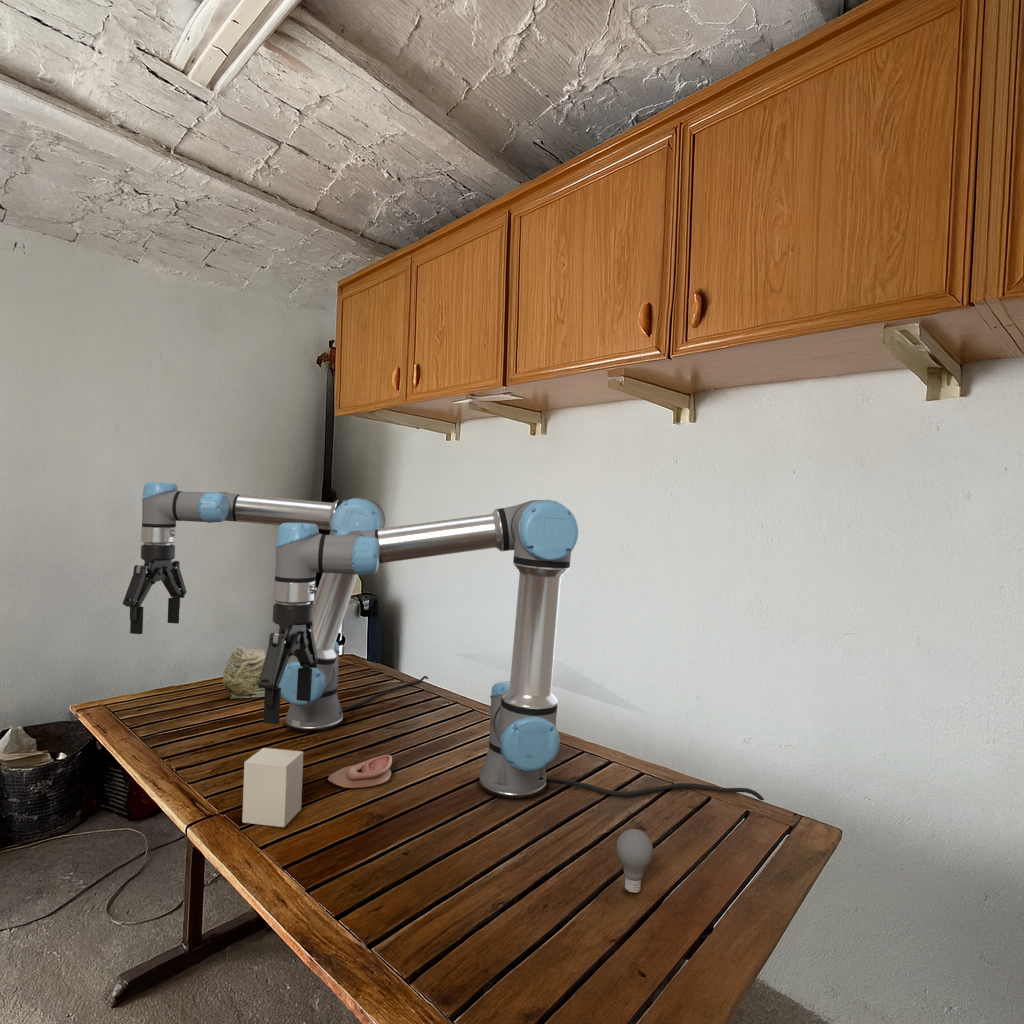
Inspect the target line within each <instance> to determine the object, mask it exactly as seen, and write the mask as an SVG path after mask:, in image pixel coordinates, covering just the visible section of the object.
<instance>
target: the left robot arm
mask: <svg viewBox="0 0 1024 1024" xmlns="http://www.w3.org/2000/svg"><path fill="white" fill-rule="evenodd" d="M141 502H142V503H141V505H142V506H141V530H140V531H141V533H140V542H141V543H143V544H141V546H140V559H141V560H143V565H141V564H135V565H133V570H132V571H133V572H132V577H131V579H130V582H129V585H128V587H127V590H126V592H125V595H124V598H123V600H122V605H123V606H125V607H128V608H129V621H130V623H129V624H130V625H129V634H132V635H143V631H144V630H143V629H144V627H143V626H144V606H142V604H143V603H144V600H145V599H146V597H147V596H148V594H149V592H150V590H151V588H152V586H153V585H155V584H156V583H157V582H160V581H161V582H162V584H163V586H164V587H165V589H166V591H167V592H168V594H169V596H170V597H168V598H167V601H168V602H167V624H179V623H180V609H181V599H184V598H185V596H186V594H187V589H186V585H185V581H184V579H183V575H182V572H181V566H180V565H181V564H180V560H174V559H175V558H176V545H175V544H174V543H175V542H176V527H177V522H193V523H194V522H195V523H199V522H200V523H207V524H211V523H212V524H213V523H223V522H224V521H225V522H234V523H235V522H237V523H238V522H239V523H248V524H249V523H250V524H259V525H260V524H261V525H271V526H280V525H281V524H283V523H311V524H316V525H317V526H318V530H326V531H330V532H329V535H346V534H348V533H349V532H353V531H367V530H377V529H382V528H385V526H386V516H385V512H384V510H383V508H382V507H381V505H379V503H378V502H376V501H374V500H371V499H369V498H360V497H354V498H350V499H347V500H346V499H337V500H335V501H334V502H330V501H329V502H327V501H317V500H316V501H315V500H306V499H296V498H295V499H294V498H284V497H273V496H262V495H252V494H238V493H231V492H227V491H218V492H215V491H183V490H182V491H181V490H179V489H178V485H177V484H176V483H175V482H154V481H151V482H150V481H148V482H146V483H145V484H144V485H143V490H142V498H141ZM321 574H322V575H321V578H320V580H319V584H318V586H317V590H316V591H315V594H314V600H313V601H312V603H313V605H314V617H313V621H312V622H313V633H314V639H315V645H316V651H317V656H318V661H317V662H315V663H318V665H317V668H312V684H311V700H310V701H300V700H296V699H297V681H298V668H303V667H301V666H300V663H299V661H298V658H297V656H296V654H295V651H294V653H293V655H292V656H290V657H289V660H288V662H287V665H286V668H285V670H284V673H283V676H282V679H281V681H280V684H279V687H278V688H281V698H282V699H283V700H284V701H285V702H287V703H288V704H289V708H288V711H287V713H286V715H285V726H286V728H287V729H289V730H291V731H294V732H295V731H296V732H301V733H316V732H325V731H329V730H332V729H335V728H337V727H339V726H340V725H342V723H343V722H344V714H343V711H344V710H350V709H354V708H356V707H358V706H361V705H363V704H365V703H368V702H370V701H372V700H374V699H375V698H377V697H380V696H383V695H384V694H387V693H390V692H392V691H395V690H398V689H402V688H404V687H408V686H412V685H416V684H419V683H422V681H424V680H429V677H428V676H427V675H424V676H422V677H421V678H420V679H418V680H415V681H412V682H408V683H404V684H401V685H398V686H397V685H396V686H394V687H390V688H388V689H385V690H383V691H380V692H377V693H376V694H374V695H372V696H370V697H368V698H366V699H364V700H362V701H359V702H356V703H355V704H352V705H348V706H341V702H340V699H339V695H338V682H339V681H338V680H339V678H338V677H339V657H340V656H339V655H340V645H339V643H338V641H337V639H338V636H339V633H340V630H341V627H342V624H343V622H344V621H343V620H344V618H345V615H346V612H347V609H348V606H349V604H350V600H351V597H352V595H353V592H354V588H355V586H356V582H357V580H358V577H359V575H358V574H340V573H321ZM311 656H312V655H311Z"/></svg>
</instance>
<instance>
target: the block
mask: <svg viewBox="0 0 1024 1024" xmlns="http://www.w3.org/2000/svg"><path fill="white" fill-rule="evenodd" d="M303 769H304V751H301V750H291V749H282V748H281V749H280V748H271V747H263V748H261V749H260V750H258V751H257V752H256V753H254V754H253V755H252V756H250V757H249V758H248V759H246V760H245V761H244V763H243V789H242V790H243V791H242V818H241V819H242V821H241V822H242V823H243V824H252V825H261V826H270V827H279V828H285V827H286V826H287V825H288V824H289V823H290V822H291V821H292V820H293V819H294V818H295V817H296V816H297V815H298V814H299V812H301V810H302V802H303V801H302V800H303V799H302V796H303V795H302V794H303V775H304V774H303V773H304V772H303V771H304V770H303Z"/></svg>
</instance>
